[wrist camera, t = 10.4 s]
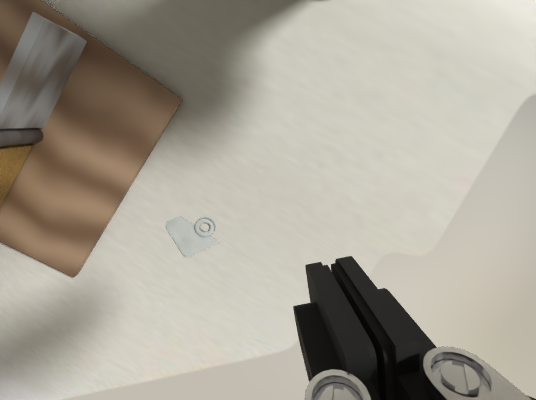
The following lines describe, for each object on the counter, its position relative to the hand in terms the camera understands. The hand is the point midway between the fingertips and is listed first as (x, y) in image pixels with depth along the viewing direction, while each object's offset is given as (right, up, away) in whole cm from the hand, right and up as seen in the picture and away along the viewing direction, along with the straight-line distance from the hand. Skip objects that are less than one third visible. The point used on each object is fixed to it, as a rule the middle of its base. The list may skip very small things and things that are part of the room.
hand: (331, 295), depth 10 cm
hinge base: (-29, +10, +23) cm, 38 cm away
